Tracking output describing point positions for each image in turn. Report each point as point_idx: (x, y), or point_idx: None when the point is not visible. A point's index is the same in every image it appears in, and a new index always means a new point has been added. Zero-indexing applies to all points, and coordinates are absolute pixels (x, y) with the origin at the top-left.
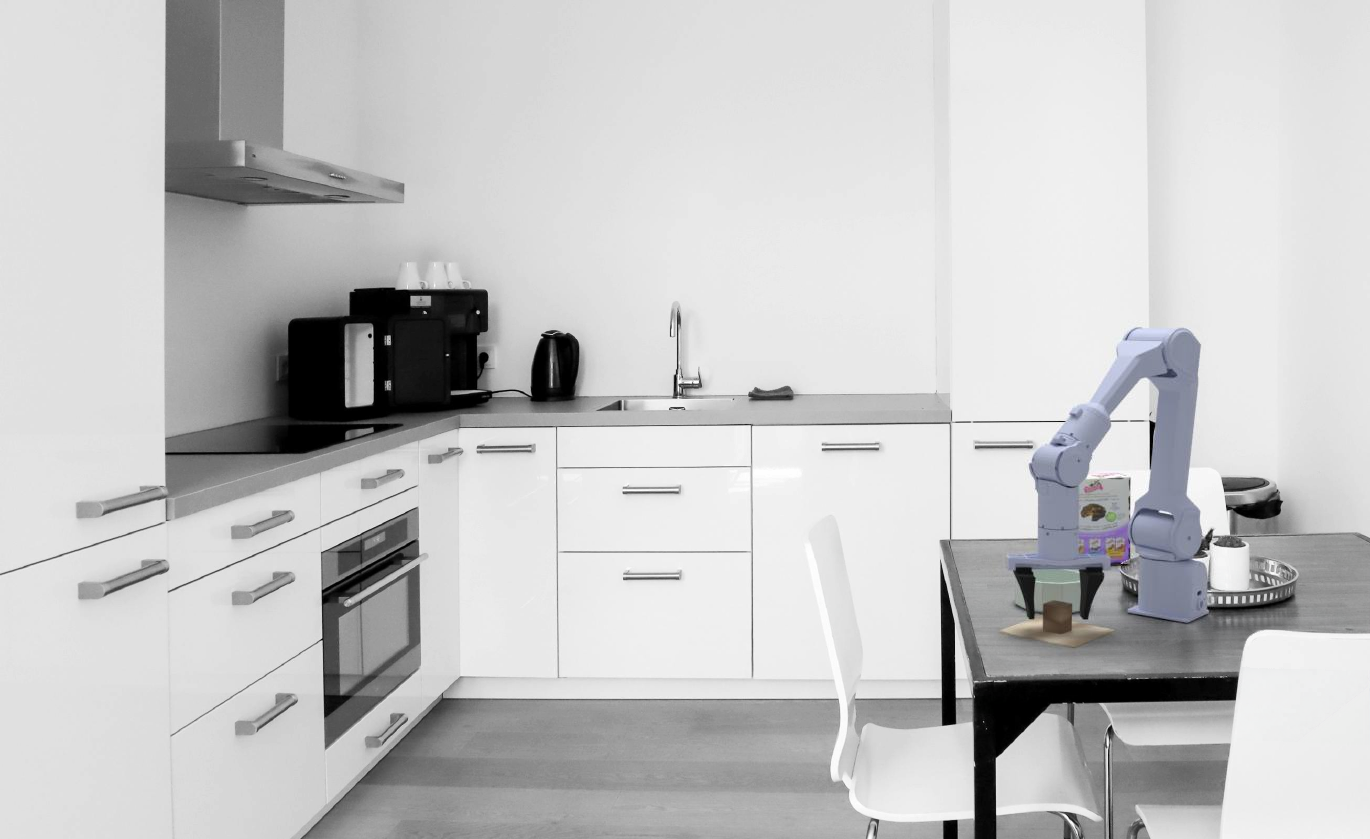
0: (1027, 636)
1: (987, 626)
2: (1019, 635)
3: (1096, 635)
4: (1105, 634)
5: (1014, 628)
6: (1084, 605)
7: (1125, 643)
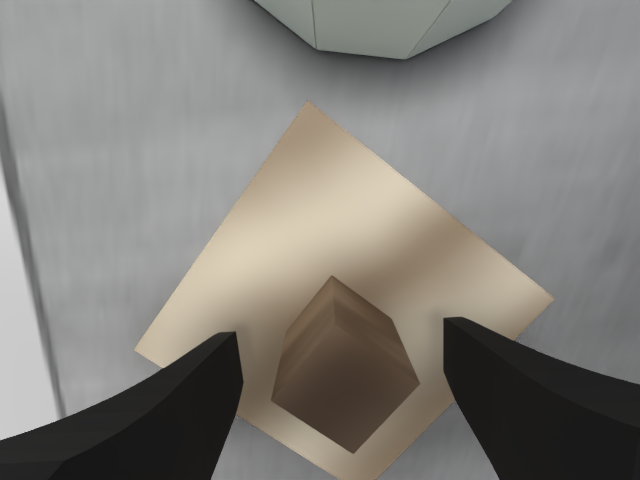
0: None
1: (92, 279)
2: None
3: None
4: None
5: (187, 318)
6: (472, 420)
7: None
